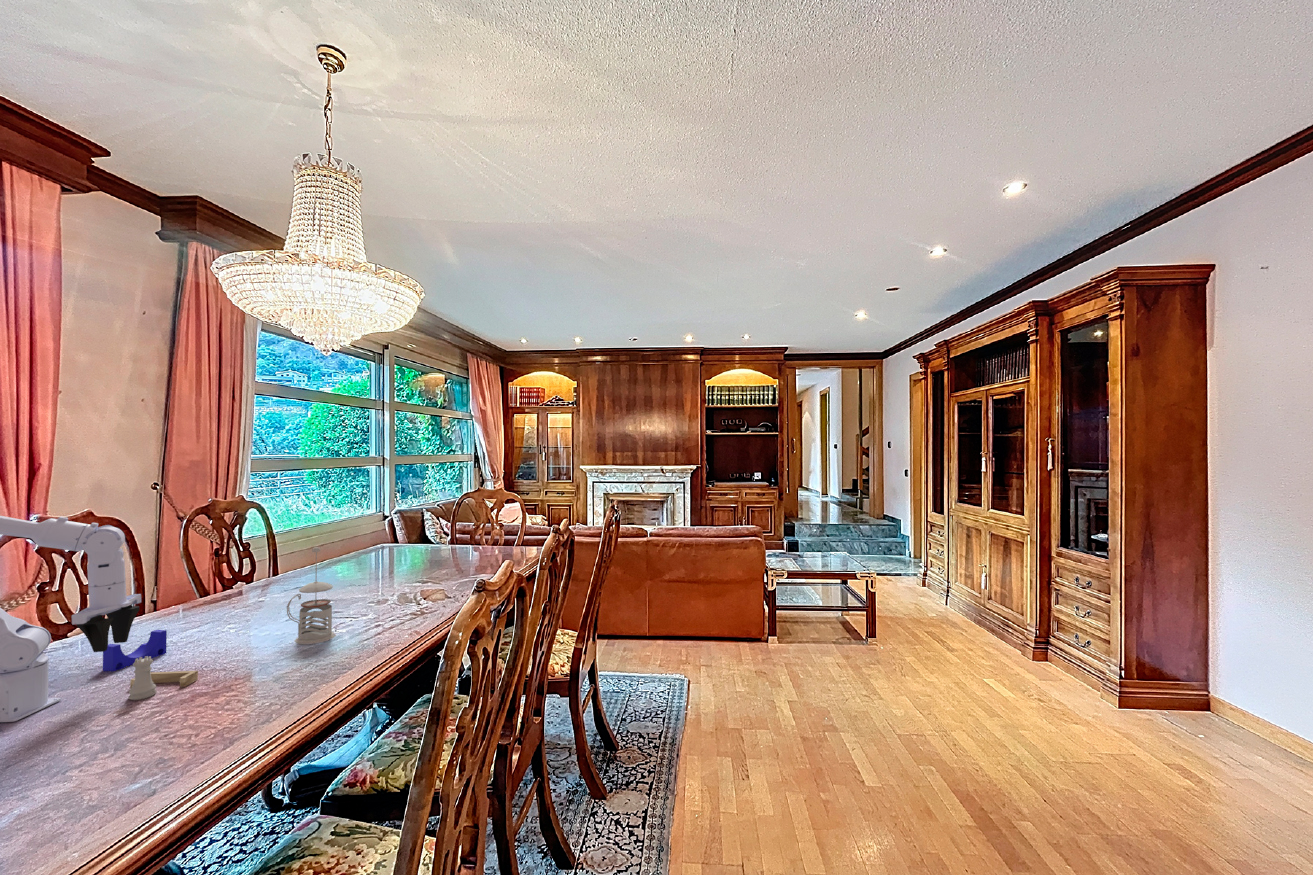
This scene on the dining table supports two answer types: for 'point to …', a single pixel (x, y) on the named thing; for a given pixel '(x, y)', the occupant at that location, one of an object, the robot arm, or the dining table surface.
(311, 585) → the french press
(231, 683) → the dining table surface
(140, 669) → the rook chess piece
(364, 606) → the dining table surface
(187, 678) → the wooden bracket
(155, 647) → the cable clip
